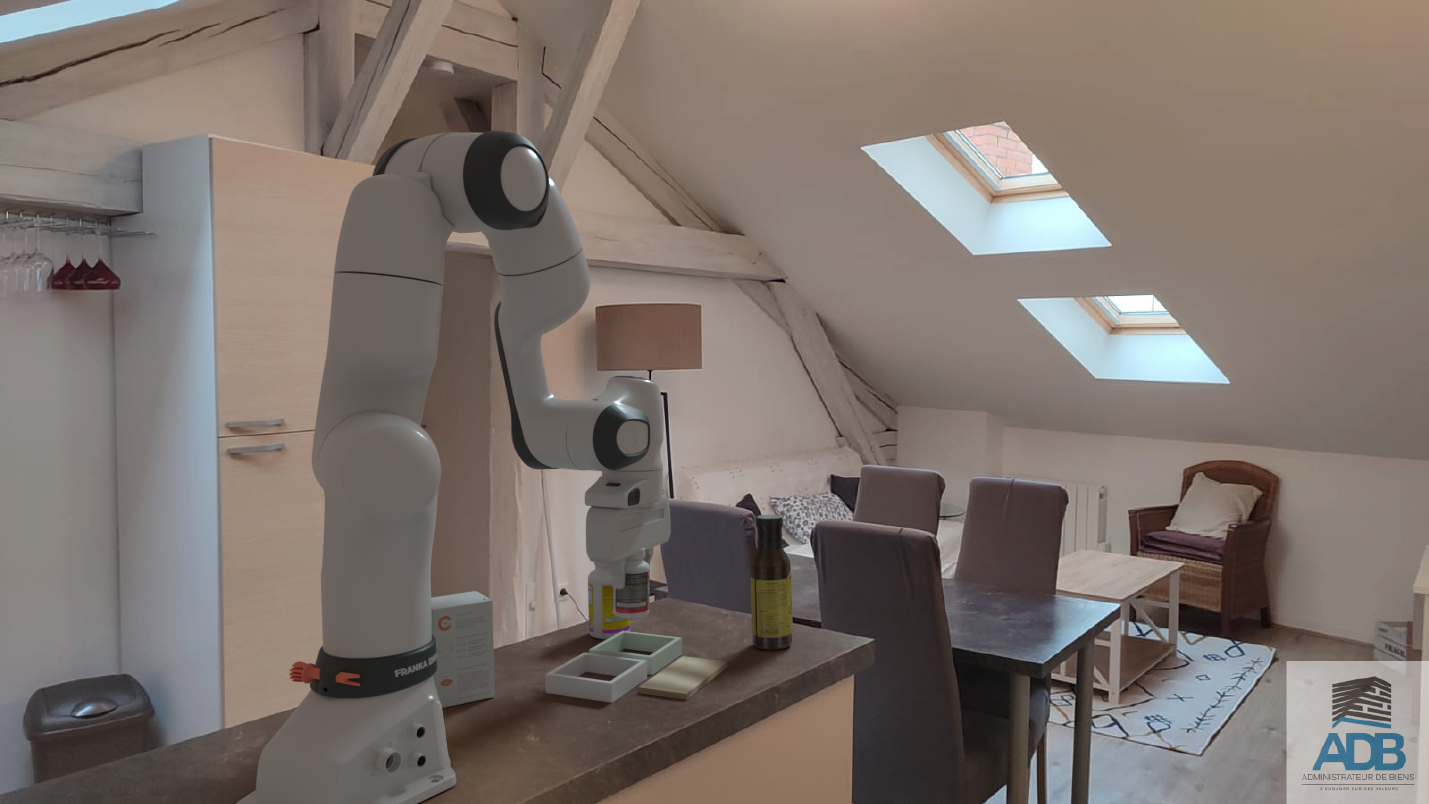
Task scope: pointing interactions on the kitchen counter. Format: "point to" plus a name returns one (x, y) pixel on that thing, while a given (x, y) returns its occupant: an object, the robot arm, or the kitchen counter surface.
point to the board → (683, 677)
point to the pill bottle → (633, 589)
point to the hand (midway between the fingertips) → (630, 583)
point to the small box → (463, 647)
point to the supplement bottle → (603, 605)
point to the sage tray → (642, 648)
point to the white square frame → (607, 691)
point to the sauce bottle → (771, 587)
